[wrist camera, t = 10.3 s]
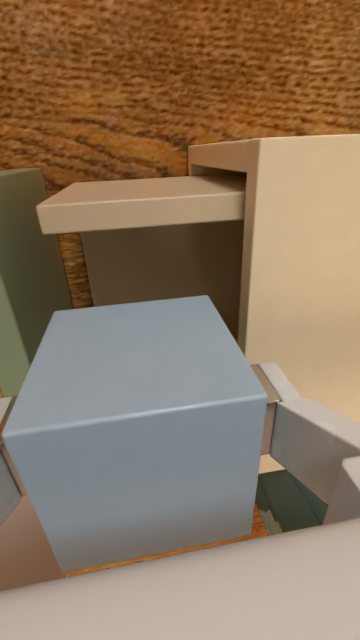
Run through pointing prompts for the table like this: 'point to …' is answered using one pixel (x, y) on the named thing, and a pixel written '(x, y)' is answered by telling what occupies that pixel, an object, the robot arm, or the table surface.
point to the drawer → (114, 250)
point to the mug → (25, 550)
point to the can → (287, 503)
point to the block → (138, 431)
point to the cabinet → (299, 260)
